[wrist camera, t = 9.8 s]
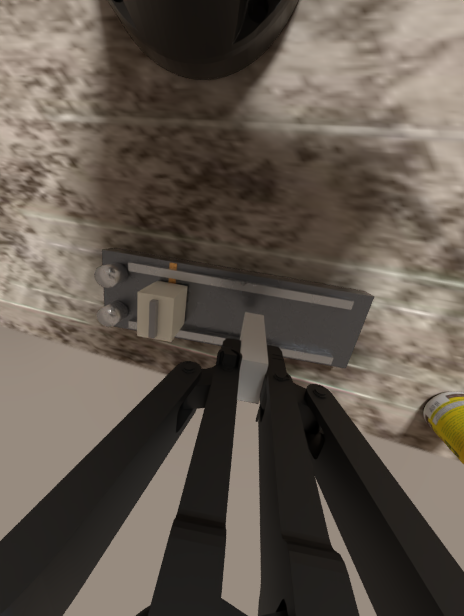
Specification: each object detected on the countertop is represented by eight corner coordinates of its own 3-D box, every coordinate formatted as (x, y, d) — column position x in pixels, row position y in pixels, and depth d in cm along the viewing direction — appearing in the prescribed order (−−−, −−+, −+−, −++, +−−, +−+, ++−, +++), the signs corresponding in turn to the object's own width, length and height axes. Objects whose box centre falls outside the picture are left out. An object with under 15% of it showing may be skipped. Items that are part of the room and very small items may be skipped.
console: (113, 247, 23) (87, 251, 20) (364, 290, 23) (386, 303, 19) (115, 317, 26) (93, 333, 22) (338, 358, 26) (353, 380, 22)
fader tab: (157, 280, 22) (133, 293, 17) (187, 285, 22) (171, 300, 17) (155, 318, 23) (133, 339, 19) (184, 323, 23) (168, 345, 19)
